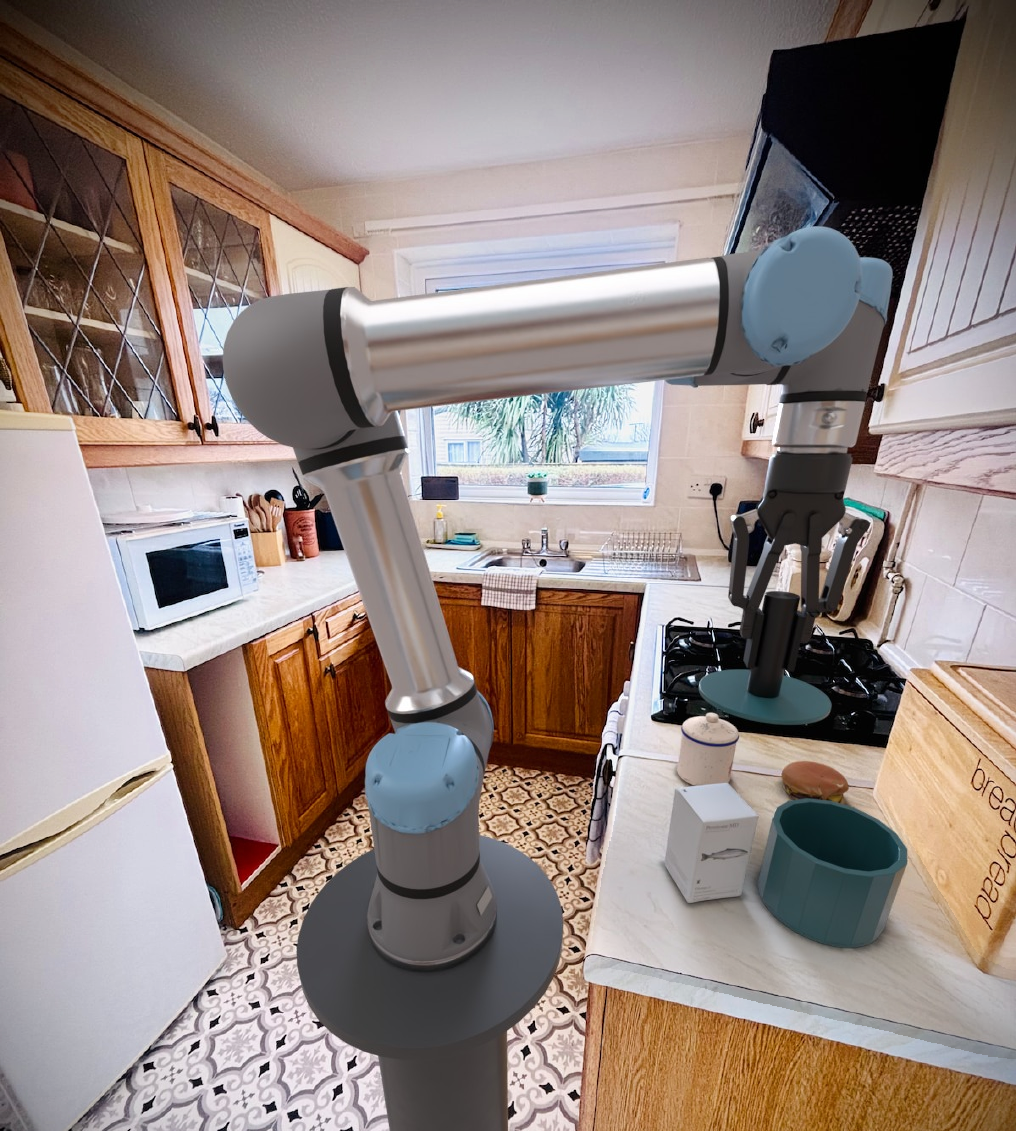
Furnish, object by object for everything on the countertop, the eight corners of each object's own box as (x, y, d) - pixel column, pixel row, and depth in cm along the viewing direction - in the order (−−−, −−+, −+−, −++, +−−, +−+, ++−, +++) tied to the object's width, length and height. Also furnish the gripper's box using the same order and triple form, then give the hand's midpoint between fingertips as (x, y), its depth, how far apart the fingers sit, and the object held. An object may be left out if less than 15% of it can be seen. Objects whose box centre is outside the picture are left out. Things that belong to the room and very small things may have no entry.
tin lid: (704, 722, 61) (722, 608, 56) (692, 673, 74) (707, 577, 69) (847, 736, 58) (881, 617, 53) (809, 682, 71) (833, 583, 66)
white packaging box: (687, 905, 67) (701, 822, 62) (662, 863, 74) (673, 785, 69) (743, 898, 68) (760, 815, 63) (713, 857, 75) (727, 780, 70)
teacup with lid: (741, 788, 90) (752, 726, 85) (687, 791, 89) (696, 729, 84) (710, 751, 101) (719, 694, 96) (662, 753, 100) (669, 696, 95)
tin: (771, 936, 63) (789, 865, 59) (748, 856, 75) (762, 793, 71) (903, 957, 60) (931, 884, 56) (857, 870, 72) (877, 805, 68)
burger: (789, 771, 94) (795, 748, 92) (850, 792, 89) (857, 768, 87) (770, 797, 88) (776, 772, 86) (835, 822, 82) (842, 796, 80)
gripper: (730, 451, 53) (697, 671, 63) (921, 451, 50) (857, 684, 59) (719, 450, 60) (691, 649, 69) (887, 451, 57) (834, 659, 66)
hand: (768, 665), depth 64 cm, fingers closed on tin lid, 4 cm apart
